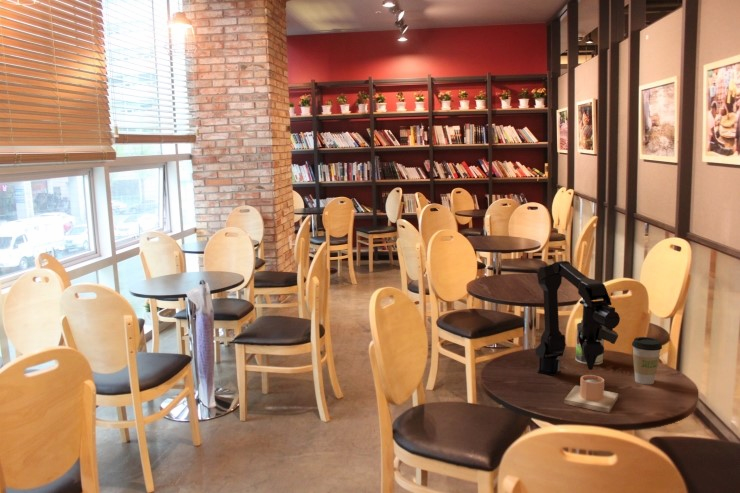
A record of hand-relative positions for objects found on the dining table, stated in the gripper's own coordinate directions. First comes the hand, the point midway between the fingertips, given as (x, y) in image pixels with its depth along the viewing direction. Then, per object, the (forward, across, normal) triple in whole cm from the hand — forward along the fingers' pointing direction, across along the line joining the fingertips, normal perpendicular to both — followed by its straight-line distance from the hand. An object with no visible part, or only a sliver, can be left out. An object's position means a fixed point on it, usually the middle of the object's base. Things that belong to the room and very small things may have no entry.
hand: (588, 364), depth 215 cm
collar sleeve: (+9, -5, -1) cm, 10 cm away
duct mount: (+11, -5, -1) cm, 12 cm away
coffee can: (+12, +35, -5) cm, 37 cm away
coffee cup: (+11, +16, -22) cm, 29 cm away
